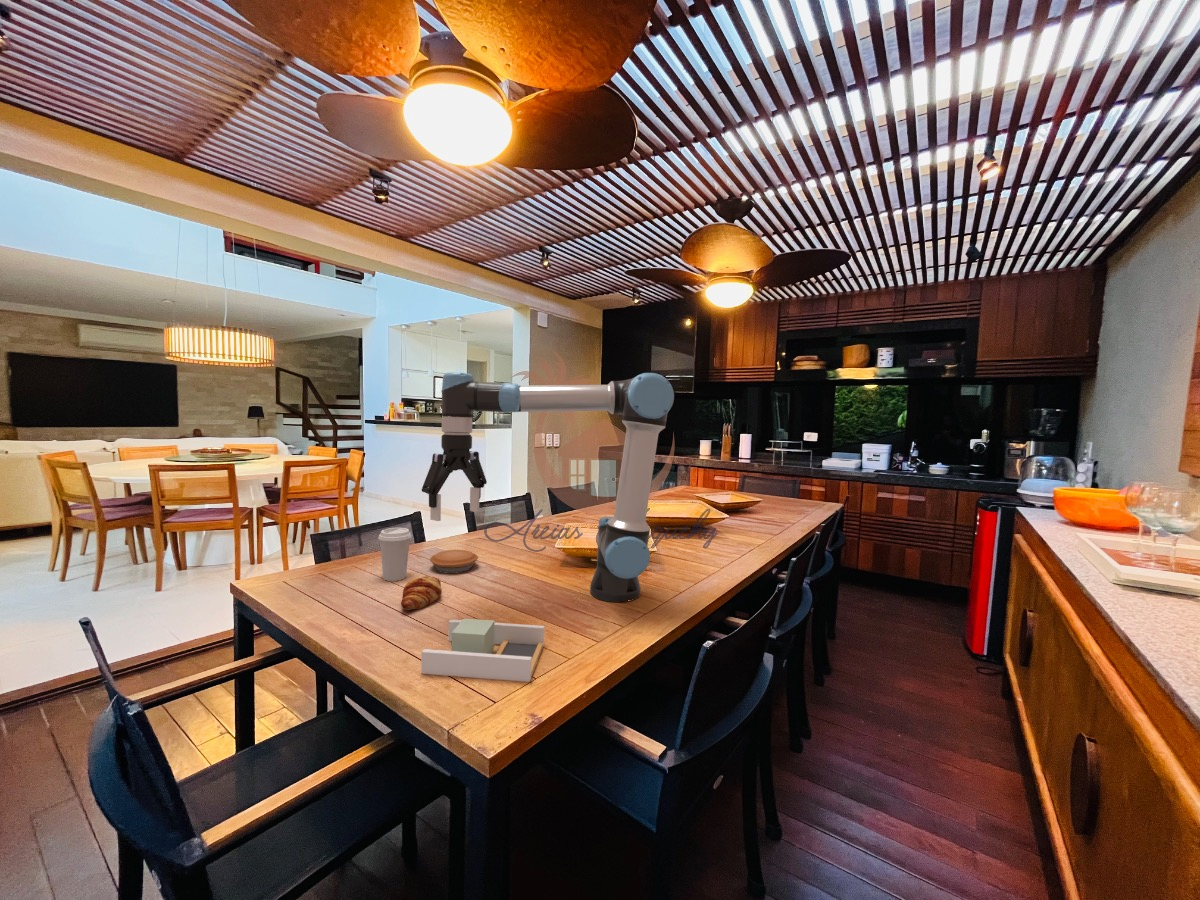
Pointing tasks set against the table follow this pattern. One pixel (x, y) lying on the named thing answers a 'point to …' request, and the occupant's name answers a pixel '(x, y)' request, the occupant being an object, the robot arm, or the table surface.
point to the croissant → (421, 592)
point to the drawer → (522, 651)
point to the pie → (453, 560)
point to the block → (473, 636)
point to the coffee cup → (394, 552)
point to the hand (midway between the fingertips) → (455, 515)
